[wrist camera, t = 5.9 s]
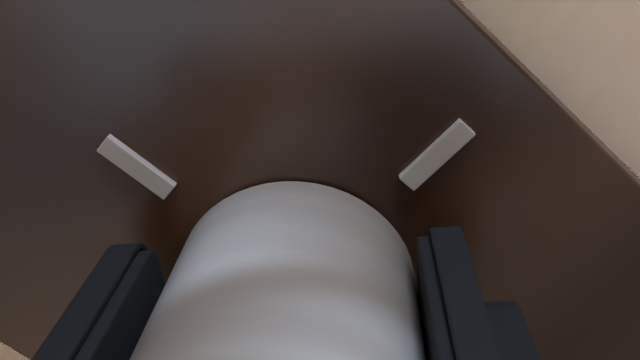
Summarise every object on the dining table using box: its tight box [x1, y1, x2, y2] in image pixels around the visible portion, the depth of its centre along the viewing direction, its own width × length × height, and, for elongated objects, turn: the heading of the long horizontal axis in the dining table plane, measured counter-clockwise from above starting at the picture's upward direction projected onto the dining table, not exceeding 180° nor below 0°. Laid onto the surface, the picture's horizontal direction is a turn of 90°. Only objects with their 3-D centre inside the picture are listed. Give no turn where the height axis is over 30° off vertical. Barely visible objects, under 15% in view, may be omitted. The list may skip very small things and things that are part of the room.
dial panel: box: [0, 0, 640, 360], centre depth 12 cm, size 14×11×3 cm
